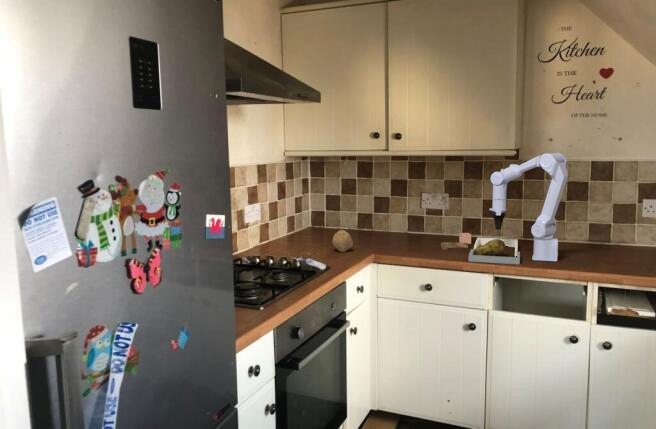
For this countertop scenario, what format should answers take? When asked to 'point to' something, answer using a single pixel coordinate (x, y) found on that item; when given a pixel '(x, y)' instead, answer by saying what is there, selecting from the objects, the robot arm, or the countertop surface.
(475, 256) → the frame
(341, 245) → the natural sponge
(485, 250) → the potato
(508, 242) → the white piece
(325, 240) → the countertop surface
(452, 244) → the crook tool
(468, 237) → the terracotta block
